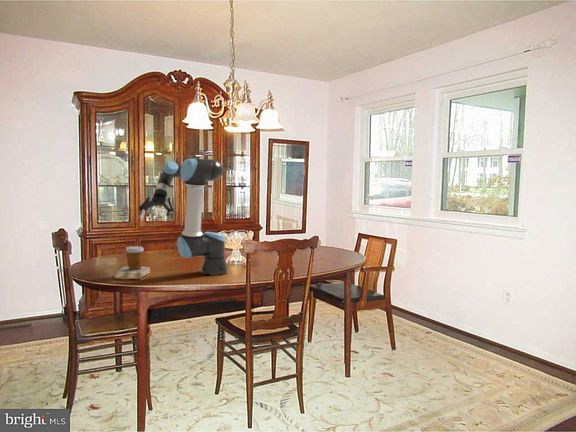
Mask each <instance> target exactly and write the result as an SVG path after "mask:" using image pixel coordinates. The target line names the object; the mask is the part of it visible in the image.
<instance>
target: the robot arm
mask: <svg viewBox="0 0 576 432" xmlns="http://www.w3.org/2000/svg"><path fill="white" fill-rule="evenodd" d="M223 175H224V165H223V164H222V163H221V162H220V161H218V160H215V159H211V158H187V159H185V160H184V161H183V162H182V164H181V165H180V164H177V163H176V162H175V161H172V160H171V161H167V162H166V163H165V165H164V167H163V169H162V171H161V172H160V174H159V176H158V177H159V178H158V180H157V184H156V187H155V190H154V193H153V197H149V196H147V198H146V199H145V201H144V202H142V203H141V205H139V206H138V210H139V212H140V213H139V215H140V217H139V220H140V221H141V222H143V221H144V217H145V214H146V211H147V210H149V209H150V208H151V207H154V206H161V205H162V207H164V209H165V212H164V215H163V221H164V222H167V219H168V217H169V216H170V214H171V212H172V213H173V212H174V208H173V205H172V200H171V197H168V194H169V190H170V187H171V184H172V182H173V179H174V178H180V179H181V180H182V181H183V184H184V185H185V186H186V195H185V196H186V197H185V218H184V229H183V231H182V232H181V236H179V237H178V238H177V240H176V246H177V250H178V251H177V252H179V254H180V256H181V257H182V258H186V259H189V258H190V259H191V258H197V257H203V262H202V265H201V267H200V274H202V273H204V274H210V275H209V276H219V275H218V274H223V275H226V274H228V273H229V272H228V271H229V270H228V269H229V268H228V265H227V263H226V258H225V255H226V252H225V251H226V244H225V243H226V240H225V239H226V238H225V235H224V233H220V232H212V231H205V232H204V233H203V232H202V216H203V215H202V214H203V199H204V198H203V197H204V188H205V187H206V186H207V182H212V181H213V182H214V181H217V180H219V179H220V178H222V176H223ZM166 202H167V203H168V205H169V206H168V205H167V204H166ZM227 272H228V273H227ZM225 273H226V274H225ZM204 274H203V275H204Z"/></svg>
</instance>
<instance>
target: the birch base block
mask: <svg viewBox="0 0 576 432" xmlns="http://www.w3.org/2000/svg"><path fill="white" fill-rule="evenodd" d="M148 273H150V274H151V268H150V266H141V269H140V270H135V271H133V270H129V267H128V265H127V266H126V265H125V266H123V267H121V268H120V269H117V270H115V271H113V277H125V278H141V277H143V276H145V275H146V274H148Z"/></svg>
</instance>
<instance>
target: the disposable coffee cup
mask: <svg viewBox="0 0 576 432" xmlns="http://www.w3.org/2000/svg"><path fill="white" fill-rule="evenodd" d="M124 250H125V254H126V259H127V266H128V267H129V270H133V271H135V270H140V269H141V267H143V266H142V264H143V263H142V262H143V257H144V250H145V249H144V247H143V246H140V245H139V246H138V245H135V246H126V247H125V249H124Z"/></svg>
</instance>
